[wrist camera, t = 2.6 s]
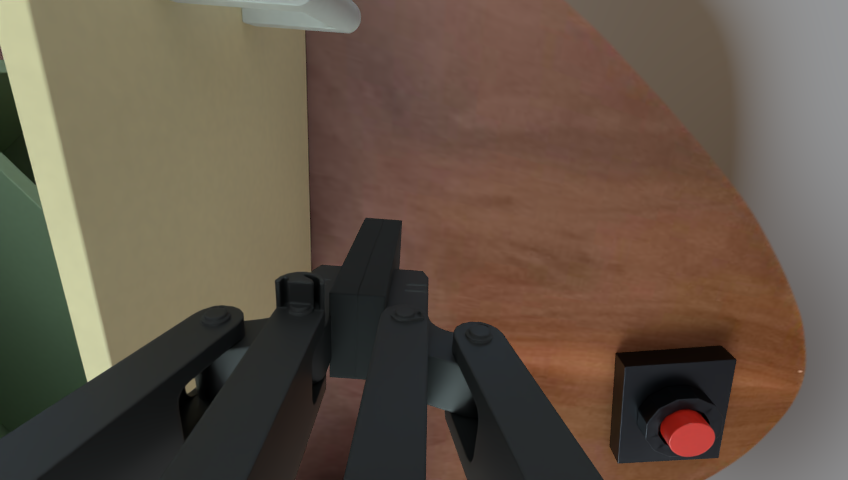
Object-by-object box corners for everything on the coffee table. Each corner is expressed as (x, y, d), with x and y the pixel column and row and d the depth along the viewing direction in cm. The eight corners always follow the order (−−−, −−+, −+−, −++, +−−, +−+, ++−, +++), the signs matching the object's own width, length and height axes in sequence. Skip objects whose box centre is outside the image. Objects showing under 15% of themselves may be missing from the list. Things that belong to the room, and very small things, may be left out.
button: (661, 410, 39) (671, 424, 38) (706, 407, 39) (718, 421, 37) (657, 443, 41) (667, 458, 39) (701, 440, 40) (712, 455, 39)
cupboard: (81, 63, 33) (-660, 27, 11) (301, 302, 40) (132, 582, 18) (-47, 193, 37) (-779, 364, 15) (173, 389, 44) (-95, 707, 22)
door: (383, -10, 31) (251, -243, 9) (373, 304, 40) (296, 583, 18) (290, -17, 31) (-83, -269, 9) (301, 299, 40) (135, 571, 18)
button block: (615, 352, 41) (633, 379, 38) (721, 345, 41) (750, 372, 37) (609, 446, 46) (625, 479, 42) (705, 440, 45) (730, 473, 41)
